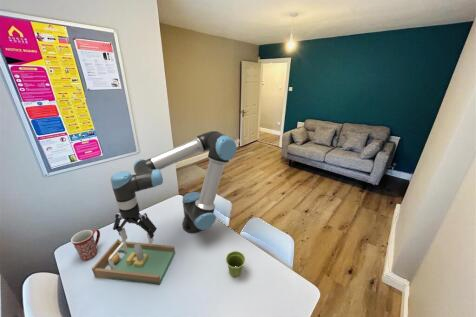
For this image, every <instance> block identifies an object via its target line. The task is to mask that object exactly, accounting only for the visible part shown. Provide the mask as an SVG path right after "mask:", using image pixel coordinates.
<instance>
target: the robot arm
mask: <svg viewBox="0 0 476 317" xmlns="http://www.w3.org/2000/svg"><path fill="white" fill-rule="evenodd" d="M204 152H208V153H207V154H208V155H207V158H208V160H209V162H208V164H207V168H206V172H205V176H204V180H203V184H202V186H201V191H200V192H197V191H191V192H188V193H186V194H184V195H183V196H182V207H183V220H182V224H181V225H182V229H183V231H185V232H187V233H188V234H190V233H191V234H196V233H199V232H201V231H205V230H207V229H210V227H212V226H213V225H214V224H215V222H216V217H217V216H216V214H215V213H214V212H215V210H216V204H215V199H216V197H217V193H218V189H219V186H220V182H221V179H222V176H223V172H224V168H225V166H226V165H227V164H229V162H230V160H231V159H233V158H234V157H235V155H236V153H237V142H235V140H234V139H233V138H232V137H231V136H229V135H226V134H225V133H224V134H223V133H221V132H219V131H217V130H211V131H207V132H205V133H202V134H199V135H196V136H195V137H194V139H193V140H189V141H187V142H184V143H183V144H181V145H178V146H175V147H173V148H171V149H168V150H166V151H165V152H162V153H159V154H157V155H155V156H152V157H149V158H147V159H144V158H143V159H137V161H135V163H134V164H133V170H134V173H135V174H131V172H130V171H126V170H125V171H118V172H116V173H114V174H112V176H110V184H111V188H112V191H113V194H114V198H115V200H116V204H117V207H118V210H119V211H118V212H117V213H116V214H115V221H114V224H113V227H112V230H113V231H117V233H118V235H119V236H120V239H121V241H122V242H125V241H126V240H127V239H128V235H127V231H126V229H125V227H124V226H125V225H126V224H127V223H128V224H135V225H136V226H139V227H140V228H142V229H143V230H144V232H146V236H147V240H148V244H149V245H151V244H153V242H154V236H155V232H156V230H158V229H157V227H156V225H155V224H154V223H153V222H152V221H151V219H150V217H148V214H147V213H146V212H144V213H143V214H141V213H140V206H139V203H138V199H137V198H138V197H137V194H136V193H137V192H141V191H145V190H147V189H152V188H156V187H159V186H161V185H162V184H163V182H164V178H163V174H162V171H161V170H162V169H165V168H167V167H169V166H171V165H174V164H176V163H178V162H180V161H182V160H185V159H188V158H189V157H191V156H194V155H196V154H198V153H204ZM122 219H123V221H122V222H121V220H122ZM126 242H127V241H126Z"/></svg>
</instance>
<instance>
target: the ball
mask: <svg viewBox="0 0 476 317" xmlns="http://www.w3.org/2000/svg"><path fill="white" fill-rule="evenodd" d="M111 255H112V254H111ZM111 255H110V256H111ZM110 256H109V257H110ZM119 261H120V254H119V253H117V254H116V255H115V256H114V257H113V263H114V264H116V263H119Z"/></svg>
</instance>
